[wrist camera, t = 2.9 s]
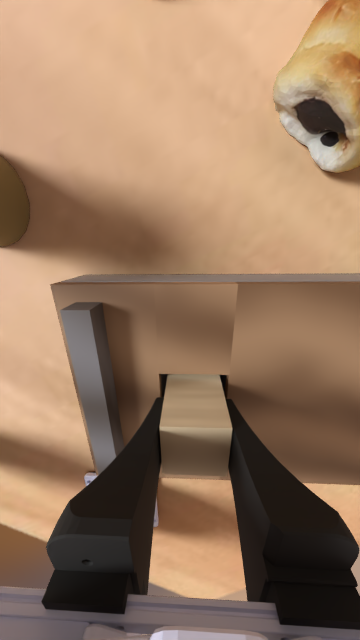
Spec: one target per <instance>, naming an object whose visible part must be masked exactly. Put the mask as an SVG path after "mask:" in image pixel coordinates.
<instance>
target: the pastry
mask: <svg viewBox="0 0 360 640" xmlns="http://www.w3.org/2000/svg"><path fill="white" fill-rule="evenodd" d="M273 100H274V102H275V108H276V111H278V112H279V115H280V122H281V123H282V125H283V126H284V127H285V129H286V131H287V132H288V133H289V135H292V136H293V137H294V138H295V139H296V140H297V141H298V142H300V143H302V144H304V145H306V146H307V147H308V149H309V151H310V154H311V156H312V158H313V159H314V161H315V162H316V163H317V164H318V165H319V167H320V168H321V169H323V170H325V171H330V172H335V173H339V172H344V171H349V170H352V169H354V168H357V167H359V166H360V0H329V1H328V2H326V3H325V5H324V6H323V7H322V8H321V10H320V11H319V12H318V13H317V15H316V17H315V18H314V20H313V21H312V23H311V25H310V27H309V28H308V30H307V31H306V33H305V35H304V37H303V39H302V41H301V43H300V45H299V46H298V48H297V50H296V51H295V53H294V55H293V56H292V58H291V59H290V61H289V62H288V63H287V65H286V66H285V67H284V68H282V69H281V70H280V71H279V73H278V74H277V77H276V81H275V84H274V88H273Z"/></svg>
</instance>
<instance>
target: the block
mask: <svg viewBox="0 0 360 640" xmlns="http://www.w3.org/2000/svg"><path fill="white" fill-rule="evenodd" d="M159 427H160V443H161V459H162V474H170V475H198V476H225V477H227V472H228V463H229V454H230V446H231V437H232V425H231V420H230V416H229V412H228V408H227V404H226V400H225V396H224V392H223V388H222V383H221V379H220V375H205V374H168V376H167V382H166V389H165V395H164V401H163V408H162V414H161V420H160V426H159Z"/></svg>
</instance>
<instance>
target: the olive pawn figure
mask: <svg viewBox="0 0 360 640" xmlns="http://www.w3.org/2000/svg"><path fill="white" fill-rule="evenodd" d="M29 219H30V214H29V200H28V197H27V194H26V190H25V187H24V185H23V183H22V181H21V180H20V178H19V176H18V174H17V173H16V171H15V169H14V168H13V167H12V166H11V165H10V164H9V163H8V162H7V161H6V160H5V159H4V158H3V157H2V156H1V155H0V247H1V246H9V245H11V244H13V243H15V242H16V241H18V240H19V239H20V238H21V237H22V235H23V234H24V233H25V231H26V229H27V225H28V222H29Z"/></svg>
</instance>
